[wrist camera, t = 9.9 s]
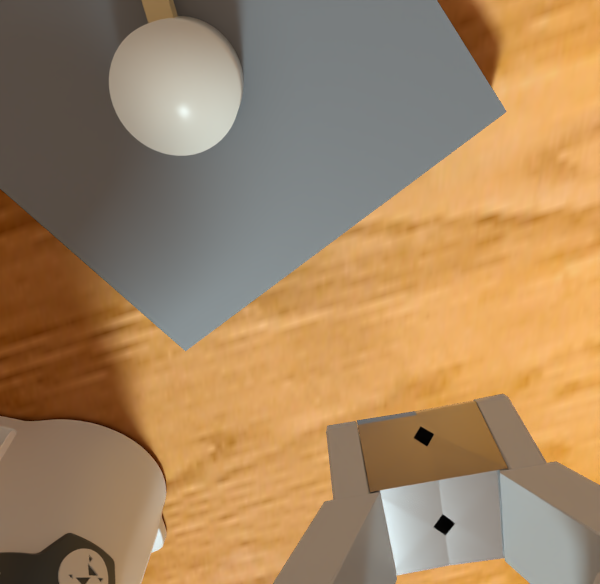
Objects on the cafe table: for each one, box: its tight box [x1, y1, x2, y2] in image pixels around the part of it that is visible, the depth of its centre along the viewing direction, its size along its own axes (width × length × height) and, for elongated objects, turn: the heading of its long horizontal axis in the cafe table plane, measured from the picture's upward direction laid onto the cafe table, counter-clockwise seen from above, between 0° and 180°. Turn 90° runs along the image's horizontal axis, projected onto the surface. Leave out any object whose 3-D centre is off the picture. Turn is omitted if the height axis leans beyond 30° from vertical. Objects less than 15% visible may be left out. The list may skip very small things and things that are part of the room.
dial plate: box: [0, 0, 506, 351], centre depth 30 cm, size 25×24×5 cm
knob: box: [109, 0, 244, 156], centre depth 24 cm, size 13×6×6 cm, turn 12°
